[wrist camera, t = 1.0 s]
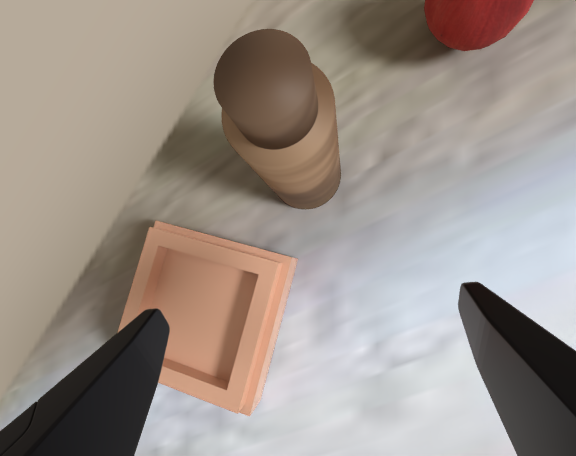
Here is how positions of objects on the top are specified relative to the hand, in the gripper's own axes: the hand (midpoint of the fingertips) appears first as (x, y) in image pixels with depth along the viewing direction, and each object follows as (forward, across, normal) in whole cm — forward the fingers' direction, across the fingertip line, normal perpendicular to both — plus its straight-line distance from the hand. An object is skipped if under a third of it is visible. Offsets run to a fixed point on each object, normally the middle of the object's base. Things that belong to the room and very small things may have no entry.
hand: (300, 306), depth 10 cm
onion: (+21, -11, -3) cm, 24 cm away
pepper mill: (+15, +1, +3) cm, 15 cm away
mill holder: (+9, +8, +9) cm, 15 cm away
